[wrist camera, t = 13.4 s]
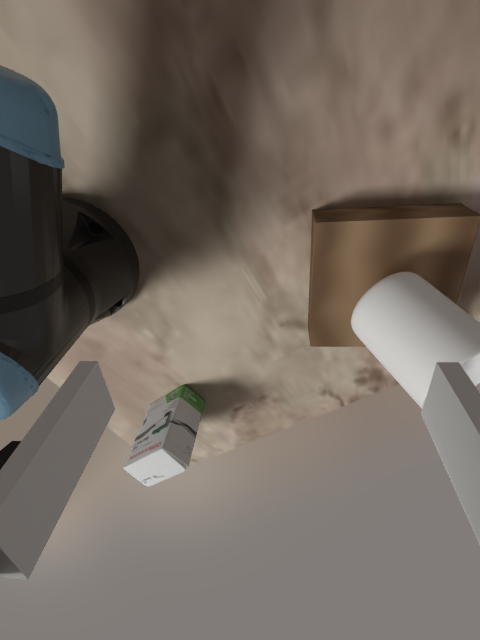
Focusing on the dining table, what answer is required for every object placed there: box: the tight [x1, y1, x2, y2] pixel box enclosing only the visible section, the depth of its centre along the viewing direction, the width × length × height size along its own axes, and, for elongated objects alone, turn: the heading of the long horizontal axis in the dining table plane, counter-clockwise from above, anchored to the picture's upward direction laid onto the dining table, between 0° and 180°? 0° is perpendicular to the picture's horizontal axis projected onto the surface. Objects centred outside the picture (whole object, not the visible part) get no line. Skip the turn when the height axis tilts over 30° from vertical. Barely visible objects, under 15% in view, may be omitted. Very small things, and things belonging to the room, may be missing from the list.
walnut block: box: [308, 203, 480, 347], centre depth 39 cm, size 15×15×5 cm
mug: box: [351, 272, 480, 409], centre depth 33 cm, size 12×8×10 cm
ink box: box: [123, 385, 205, 486], centre depth 51 cm, size 9×5×12 cm, turn 130°
